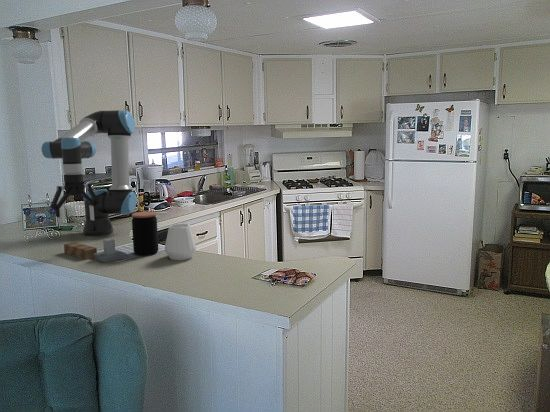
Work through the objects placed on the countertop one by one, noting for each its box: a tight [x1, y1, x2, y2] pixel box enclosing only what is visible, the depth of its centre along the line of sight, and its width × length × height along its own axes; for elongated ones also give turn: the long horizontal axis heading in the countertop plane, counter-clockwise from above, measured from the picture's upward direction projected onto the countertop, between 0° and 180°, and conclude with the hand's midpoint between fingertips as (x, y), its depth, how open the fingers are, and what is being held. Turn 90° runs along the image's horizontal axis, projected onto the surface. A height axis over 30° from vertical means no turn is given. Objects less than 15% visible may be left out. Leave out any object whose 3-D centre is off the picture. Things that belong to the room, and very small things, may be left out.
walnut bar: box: [63, 241, 98, 260], centre depth 202 cm, size 18×5×4 cm, turn 53°
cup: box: [164, 223, 197, 261], centre depth 196 cm, size 13×13×14 cm
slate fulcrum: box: [93, 238, 127, 264], centre depth 196 cm, size 10×10×8 cm
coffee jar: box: [131, 211, 159, 257], centre depth 203 cm, size 11×11×18 cm
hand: (76, 222), depth 199 cm, fingers open, 13 cm apart
